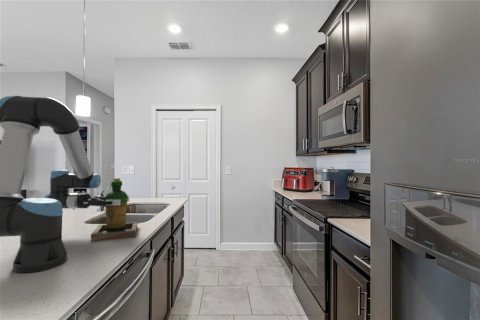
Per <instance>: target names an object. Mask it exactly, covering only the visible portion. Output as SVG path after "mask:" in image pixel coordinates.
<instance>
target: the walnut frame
mask: <svg viewBox="0 0 480 320" xmlns="http://www.w3.org/2000/svg"><path fill="white" fill-rule="evenodd" d="M137 230H138V221H133V222H126V226H125V231H117V232H107V228H106V223H104V224H98V225H97V227H96V228H95V229H94V230H93V232H92V233H90V242H97V241H108V240H117V239H119V240H120V239H129V238H131V239H132V238H136V236H137Z"/></svg>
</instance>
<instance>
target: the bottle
mask: <svg viewBox="0 0 480 320" xmlns="http://www.w3.org/2000/svg"><path fill="white" fill-rule="evenodd" d="M110 183H111V184H110V186H111V191H108V193H107V194H106V195H105V201H106V200H120V205H106V204H105V207H104V208H105V224H106V228H107V232H117V231H125V226H126V223H127V222H126V221H127V210H128V201H127V197H128V194H127V192H126V191H124V190H122V186H123V182H122V180H121V178H119V177H116V178H113V180H112V181H111V182H110Z"/></svg>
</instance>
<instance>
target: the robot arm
mask: <svg viewBox="0 0 480 320" xmlns="http://www.w3.org/2000/svg"><path fill="white" fill-rule="evenodd" d="M0 127H1V128H2V129H3V134H2V138H1V141H0V237H2V238H3V237H17V236H18V237H20V238H19V240H20V241H19V243H20V244H19V248H18V250H17V253H16V255H15V258H14V260H13V262H12V271H13V272H14V273H18V274H19V273H21V274H23V273H24V274H27V273H35V272H41V271H45V270H49V269H52V268H56V267H58V266H60V265H61V264H64V263H66V261H68V252H67V249H66V247H65V244H64V241H63V237H62V236H63V214H64V213H63V212H64V210H63V209H72V210H73V211H74V210H75V209H88V208H89V207H90V206H91V207H102V208H105V204H106V205H120V200H106V201H105V196H106V195H105V196H104V195H103V196H91V194H90V193H85V192H84V193H80V192H77V193H76V192H75V193H71V192H70V189H71V190H72V189H74V190H75V189H88V190H89V189H90V190H91V189H97V188H99V187H100V186H101V183H102V177H101V175H100V174H99V173H94V172H93V169H92V165H91V163H90V161H89V157H88V155H87V151H86V149H85V146H84V143H83V140H82V138H81V135H80V131H79V130H80V129H81V127H80V123H79V120H78V119H77V117H76V116H75V114H74V113H73V111H72V110H70V109H69V108H68V106H66V105H65V104H63V102H61V101H59V100H57V99H55V98H51V97H45V96H44V97H39V96H22V95H12V96H10V95H9V96H8V95H7V96H4V97H2V98H0ZM41 127H49V128H51V129H52V131H53V133H54V134H56V135H57V136H58V137H59V141H60V143H61V144H62V147H63V150H64V152H65V154H66V156H67V158H68V161H69V164H70V166H71V169H72V171H73V172H74V173H70V171H69V169H55V170H54V169H53V170H51V172H50V178H49V181H50V187H49V189H50V191H49V193H47V194H45V196H44V197H28V198H25V197H24V196H23V195H22V187H23V184H24V179H25V174H26V169H27V166H28V162H29V156H30V152H31V148H32V144H33V139H34V136H35V135H38V134H39V133H40V130H41ZM69 192H70V193H69ZM127 202H130V196H128V197H127Z"/></svg>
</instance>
